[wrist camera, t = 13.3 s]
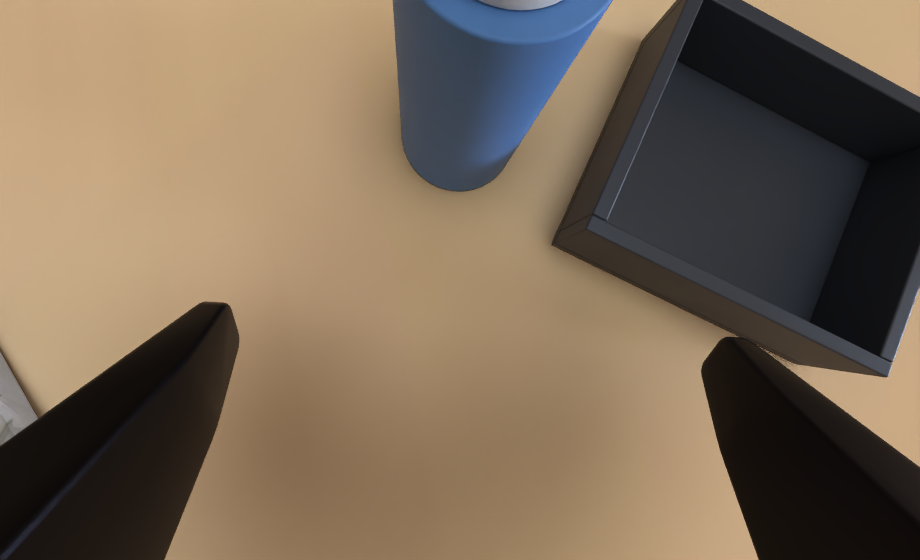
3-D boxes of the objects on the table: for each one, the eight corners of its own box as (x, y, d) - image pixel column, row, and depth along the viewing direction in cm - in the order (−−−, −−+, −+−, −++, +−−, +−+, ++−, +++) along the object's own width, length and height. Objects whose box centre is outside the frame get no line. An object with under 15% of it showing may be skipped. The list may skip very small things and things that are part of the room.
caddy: (796, 364, 21) (888, 378, 17) (550, 244, 20) (585, 228, 16) (873, 160, 22) (977, 127, 18) (643, 38, 21) (697, -26, 17)
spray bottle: (508, 196, 20) (739, -71, 6) (397, 185, 19) (356, -134, 5) (515, 90, 20) (748, -407, 6) (406, 77, 20) (390, -494, 6)
